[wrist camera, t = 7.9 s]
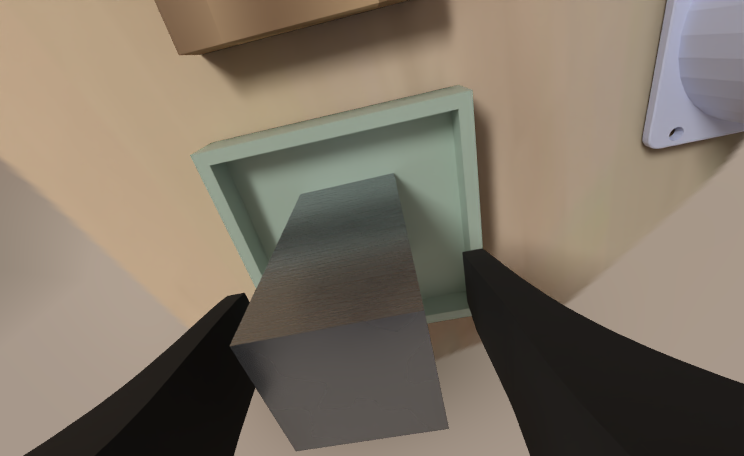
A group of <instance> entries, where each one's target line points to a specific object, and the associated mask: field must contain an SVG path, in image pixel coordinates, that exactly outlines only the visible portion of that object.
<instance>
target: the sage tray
mask: <svg viewBox="0 0 744 456" xmlns="http://www.w3.org/2000/svg"><path fill="white" fill-rule="evenodd" d="M190 156H191V158H192V160H193V162H194V164H195V166H196V168H197V170H198V172H199V174H200V176H201V178H202V180H203V182H204V184H205V186H206V188H207V190H208V192H209V194H210V196H211V198H212V200H213V202H214V204H215V206H216V208H217V210H218V212H219V214H220V217H221V219H222V221H223V223H224V225H225V227H226V229H227V231H228V233H229V235H230V237H231V239H232V241H233V243H234V245H235V247H236V249H237V251H238V253H239V255H240V257H241V259H242V261H243V263H244V265H245V267H246V269H247V271H248V273H249V275H250V277H251V279H252V281H253V283H254V285H255V287H256V288H257V286H258V284H259V282H260V280H261V277H262V275H263V273H264V271H265V269H266V267H267V265H268V262H269V260H270V258H271V256H272V254H273V252H274V250H275V247H276V245H277V243H278V241H279V239H280V237H281V235H282V232H283V230H284V228H285V226H286V224H287V222H288V220H289V217H290V215H291V213H292V211H293V209H294V207H295V205H296V202H297V200H298V198H299V196H300V194H303V193H308V192H312V191H316V190H321V189H325V188H330V187H334V186H338V185H343V184H347V183H352V182H356V181H360V180H365V179H369V178H374V177H378V176H382V175H387V174H391V173H394V176H395V180H396V185H397V189H398V194H399V198H400V203H401V207H402V212H403V216H404V221H405V225H406V230H407V234H408V239H409V243H410V248H411V252H412V257H413V261H414V266H415V270H416V275H417V279H418V284H419V288H420V293H421V297H422V302H423V306H424V311H425V316H426V320H427V323H433V322H439V321H445V320H451V319H457V318H463V317H469V316H472V315H471V312H470V309H469V306H468V302H467V295H466V285H465V275H464V265H463V255H462V252H465V251H470V250H475V249H481V248H482V249H483V245H482V230H481V214H480V199H479V184H478V168H477V153H476V138H475V122H474V107H473V92H472V90H471V89H469V88H466V87H463V86H460V85H456V86H452V87H448V88H444V89H439V90H435V91H431V92H426V93H422V94H418V95H414V96H409V97H405V98H401V99H397V100H392V101H388V102H384V103H379V104H375V105H371V106H367V107H362V108H358V109H354V110H350V111H345V112H341V113H337V114H332V115H328V116H324V117H320V118H315V119H311V120H307V121H303V122H298V123H294V124H290V125H285V126H281V127H277V128H273V129H268V130H264V131H260V132H255V133H251V134H247V135H243V136H238V137H234V138H230V139H226V140H221V141H217V142H213V143H210V144H209V145H207V146H205V147H203V148H202V149H200V150H198V151H197V152H195V153H193V154H192V155H190Z"/></svg>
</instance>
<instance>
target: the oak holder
mask: <svg viewBox="0 0 744 456" xmlns="http://www.w3.org/2000/svg"><path fill="white" fill-rule="evenodd" d="M404 1H408V0H155V3H156V5H157V7H158V9H159V12H160V14H161V16H162V18H163V21H164V23H165V25H166V27H167V30H168V32H169V34H170V36H171V39H172V41H173V43H174V45H175V48H176V50H177V52H178V54H179V55H201V54H205V53H209V52H213V51H216V50H220V49H224V48H228V47H232V46H236V45H239V44H243V43H247V42H251V41H255V40H259V39H262V38H266V37H270V36H274V35H278V34H282V33H285V32H289V31H293V30H297V29H301V28H305V27H308V26H312V25H316V24H320V23H324V22H328V21H331V20H335V19H339V18H343V17H347V16H351V15H354V14H358V13H362V12H366V11H370V10H374V9H377V8H381V7H385V6H389V5H393V4H396V3H400V2H404Z"/></svg>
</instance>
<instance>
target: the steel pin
mask: <svg viewBox="0 0 744 456" xmlns="http://www.w3.org/2000/svg"><path fill="white" fill-rule="evenodd" d="M230 348H231V350H232V351H233V353H234V354H235V356H236V357H237V359H238V361H239V362H240V364H241V365H242V367H243V368H244V370H245V372H246V373H247V375H248V376H249V378H250V380H251V381H252V383H253V384H254V386H255V387H256V389H257V391H258V392H259V394H260V395H261V397H262V398H263V400H264V402H265V403H266V405H267V406H268V408H269V410H270V411H271V413H272V414H273V416H274V417H275V419H276V421H277V422H278V424H279V425H280V427H281V428H282V430H283V432H284V433H285V435H286V436H287V438H288V439H289V441H290V443H291V444H292V446H293V447H294V449H295V451H301V450H308V449H315V448H322V447H328V446H335V445H341V444H349V443H355V442H362V441H369V440H376V439H383V438H389V437H396V436H402V435H410V434H416V433H423V432H430V431H437V430H444V429H449V427H448V422H447V417H446V412H445V407H444V403H443V398H442V393H441V388H440V383H439V378H438V373H437V369H436V364H435V359H434V354H433V349H432V345H431V340H430V335H429V330H428V325H427V320H426V316H425V311H424V306H423V302H422V297H421V293H420V288H419V284H418V279H417V275H416V270H415V266H414V261H413V257H412V252H411V248H410V243H409V239H408V234H407V230H406V225H405V221H404V216H403V212H402V207H401V203H400V198H399V194H398V189H397V185H396V180H395V176H394V173H391V174H387V175H382V176H378V177H374V178H369V179H365V180H360V181H356V182H352V183H347V184H343V185H338V186H334V187H330V188H325V189H321V190H316V191H312V192H308V193H303V194H300V196H299V198H298V200H297V202H296V205H295V207H294V209H293V211H292V213H291V215H290V217H289V220H288V222H287V224H286V226H285V228H284V230H283V232H282V235H281V237H280V239H279V241H278V243H277V245H276V247H275V250H274V252H273V254H272V256H271V258H270V260H269V262H268V265H267V267H266V269H265V271H264V273H263V275H262V277H261V280H260V282H259V284H258V286H257V288H256V290H255V292H254V295H253V297H252V299H251V301H250V303H249V305H248V307H247V310H246V312H245V314H244V316H243V318H242V320H241V323H240V325H239V327H238V329H237V331H236V333H235V335H234V338H233V340H232V342H231V344H230Z"/></svg>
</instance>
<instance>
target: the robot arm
mask: <svg viewBox="0 0 744 456" xmlns="http://www.w3.org/2000/svg"><path fill="white" fill-rule="evenodd" d="M674 128H675V131H674V134H673V135H672V136H670V137H669V134H670V132H671V131H672V130H673V129H674ZM739 132H744V0H667V4H666V10H665V15H664V21H663V26H662V32H661V37H660V43H659V49H658V54H657V60H656V65H655V71H654V77H653V82H652V88H651V93H650V99H649V105H648V110H647V116H646V121H645V127H644V132H643V143H644V145H645V146H648V147H650V148H653V149H661V148H666V147H670V146H675V145H680V144H685V143H690V142H695V141H700V140H705V139H709V138H714V137H719V136H724V135H729V134H734V133H739ZM462 255H463V265H464V275H465V285H466V295H467V302H468V306H469V309H470V312H471V315H472V318H473V321H474V324H475V327H476V330H477V332H478V334H479V336H480V338H481V341H482V343H483V345H484V347H485V349H486V351H487V354H488V356H489V358H490V360H491V362H492V364H493V366H494V368H495V370H496V373H497V375H498V377H499V379H500V381H501V383H502V385H503V388H504V390H505V392H506V394H507V396H508V398H509V401H510V403H511V405H512V408H513V410H514V412H515V415H516V418H517V420H518V423H519V426H520V429H521V432H522V434H523V437H524V440H525V443H526V445H527V448H528V451H529V453H530V456H744V384H743V383H740V382H737V381H734V380H731V379H729V378H725V377H723V376H720V375H718V374H715V373H712V372H709V371H707V370H704V369H702V368H699V367H696V366H694V365H691V364H688V363H686V362H683V361H681V360H678V359H675V358H673V357H670V356H668V355H666V354H663V353H661V352H658V351H656V350H654V349H651V348H649V347H646V346H644V345H642V344H640V343H638V342H635V341H633V340H631V339H629V338H627V337H624V336H622V335H620V334H617V333H615V332H613V331H611V330H609V329H607V328H605V327H603V326H601V325H599V324H597V323H595V322H594V321H592V320H590V319H588V318H586V317H584V316H582V315H580V314H578V313H576V312H574V311H573V310H571V309H569V308H567V307H566V306H564V305H562V304H561V303H559V302H557V301H556V300H554V299H552V298H551V297H549V296H548V295H546V294H544V293H543V292H541V291H540V290H538V289H537V288H535V287H534V286H532V285H531V284H530V283H528V282H527V281H525V280H524V279H522V278H521V277H519V276H518V275H517V274H515V273H514V272H513V271H511V270H510V269H509V268H507V267H506V266H505V265H503V264H502V263H501V262H499V261H498V260H497V259H496V258H494V257H493V256H492V255H490V254H489V253H488V252H486V251H485V250H484V249H482V248H481V249H475V250H470V251H465V252H462ZM249 303H250V302H249V300H248V298H247V296H246V295H245V293H241V294H235V295H230V296H227V297H226V298H224V299H223V300H222V301H220V302H219V303H218V304H217V305H216V306H214V307H213V308H212V309H211V310H210V311H209V312H208V313H207V314H206V315H204V316H203V317H202V318H201V319H200V320H199V321H198V322H197V323H196V324H195V325H193V326H192V327H191V328H190V329H189V330H188V331H187V332H186V333H185V334H184V335H182V336H181V337H180V338H179V339H178V340H177V341H176V342H175V343H174V344H173V345H171V346H170V347H169V348H168V349H167V350H166V351H165V352H164V353H162V354H161V355H160V356H159V357H158V358H156V359H155V360H154V361H153V362H152V363H151V364H150V365H148V366H147V367H146V368H145V369H144V370H143V371H141V372H140V373H139V374H138V375H136V376H135V377H134V378H133V379H132V380H130V381H129V382H128V383H127V384H125V385H124V386H123V387H122V388H120V389H119V390H118V391H116V392H115V393H114V394H112V395H111V396H110V397H108V398H107V399H106V400H104V401H103V402H102V403H100V404H99V405H98V406H96V407H95V408H94V409H92V410H91V411H89V412H88V413H86V414H85V415H83V416H82V417H81V418H79V419H78V420H77V421H75V422H73V423H72V424H70V425H69V426H67V427H66V428H65V429H63V430H62V431H60V432H59V433H57V434H56V435H55V436H53V437H52V438H50V439H49V440H47V441H46V442H44V443H43V444H41V445H39V446H38V447H36V448H35V449H33V450H32V451H30V452H28V453H27V454H25V455H24V456H234V453H235V449H236V446H237V442H238V439H239V436H240V432H241V429H242V426H243V423H244V420H245V417H246V414H247V411H248V408H249V405H250V401H251V398H252V396H253V393H254V390H255V386H254V384H253V383H252V381H251V380H250V378H249V376H248V375H247V373H246V372H245V370H244V368H243V367H242V365H241V364H240V362H239V361H238V359H237V357H236V356H235V354H234V353H233V351H232V350H231V348H230V344H231V342H232V340H233V338H234V335H235V333H236V331H237V329H238V327H239V325H240V323H241V320H242V318H243V316H244V314H245V312H246V310H247V307H248V305H249Z"/></svg>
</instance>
